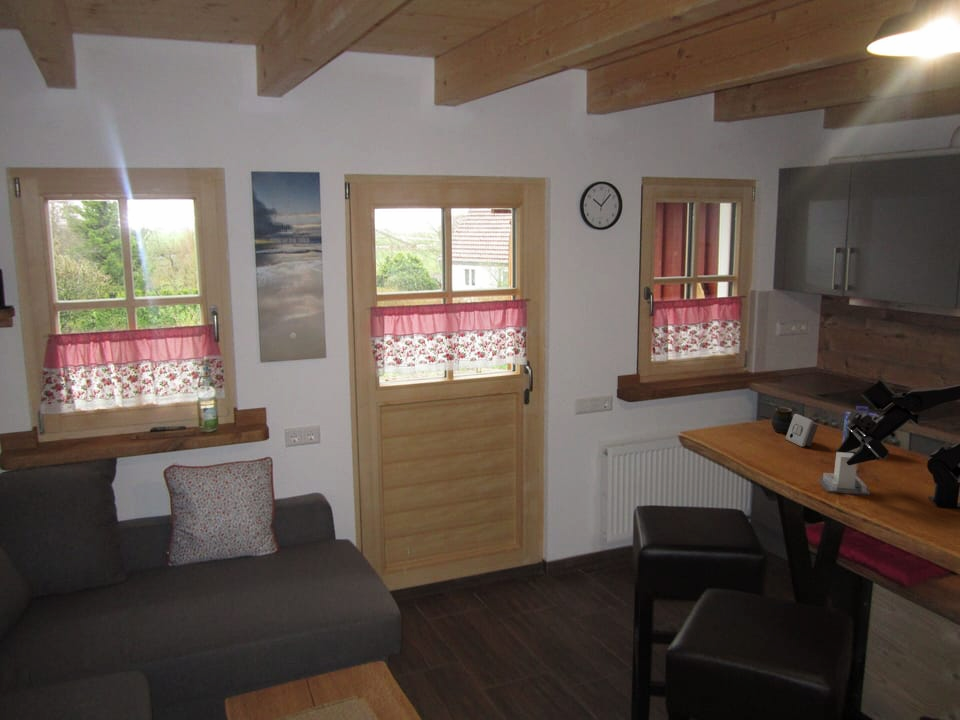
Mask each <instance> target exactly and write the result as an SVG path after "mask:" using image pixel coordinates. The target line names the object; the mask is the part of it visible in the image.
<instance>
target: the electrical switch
mask: <svg viewBox="0 0 960 720" xmlns="http://www.w3.org/2000/svg"><path fill="white" fill-rule="evenodd" d="M792 418H793V419H792V422H791V424H790V427H789V430H788V433H786V436H785V440H787V441H788V442H790V443H793V444H795V445H797V446H799V447H801V448H805V446H806V447H811V446H812V443H813V441H814V438H815V435H816V432H817V430H818V427H819V424H817V423H816V422H814V420H812V419H810V418H808V417H806V416H803V415H800V414H797V413H794V414H793V416H792Z"/></svg>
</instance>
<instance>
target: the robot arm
mask: <svg viewBox="0 0 960 720" xmlns="http://www.w3.org/2000/svg"><path fill="white" fill-rule="evenodd" d="M861 396H862V398H864V399H865V400H866V401H867V402H868V403H869V404H870V405H871V406H872V407H873V408H874V409H875V410H878V411H879V410H881V411H884V410H885V409H886V411H884V412H883V413H881V414H880V415H879V417H877V416H873V417H871V416H870V415H867V414H866V413H865V414H862V413H860V412H858V411H856V410H855V409H852V410H851V413H850V415H849V416H848V418H847V419H848V420H850V423H849V424H848V425H847V426H848V427H849V428H850V429H848V428H847V429H846V430H847V437H846V438H845V440H844V442H843V441H842V442H843V443H842V442H841V444H840V446H839V447H838V449H837V450H836V451H835V453H836V452H843V453H850V452H849V451H851V450H853V449H856V448H858V447H860V449H859V450H858V451H857V452H854V453H853V454H854V455H853V456H852V457H851V458H850V459H849V460H848V461H847V462H846V463H847V464H848V465H854V464H858V463H859V464H861V463H865V462H870V461H871V462H872V461H875V460H876V461H879V460H880V459H881V460H882V461H883V460H885V459H886V458H887V457H889V452H890V451H889V450H888V448H887V447H886V446H885V445H884V444H883V442H885V440H887V439H888V438H890V437H891V438H894V437H895V436H896V432H897V431H899V430H900V429H901V428H903V426H905V425H906V424H907V423H909V422H910V421H911V422H912V423H913V425H915V426H917V425H918V424H919V417H920V414H918V413H921V412H923V411H926V410H929V409H931V408H933V407H936V406H939V405H942V404H945V403H949V402H953V401H954V402H955V401H959V400H960V383H959V384H954V385H949V386H944V387H919V388H917V387H916V388H915V389H912V390H910V391H906V392H898V393H895V391H894V390H893V389H891V387H890V386H888V384H887V383H886V382H885V381H884V379H880V380H878V381H877V382H876V383H874V384H873V385H872V386H871V387H869V388H866V390H865V391H863V392H862V393H861ZM892 404H893V405H892ZM890 405H891V406H890ZM889 406H890V407H889ZM888 407H889V408H888ZM887 408H888V409H887ZM915 413H917V414H915ZM860 440H861V442H860ZM865 443H867V445H866V444H865ZM929 457H930V458H929V459H928V460H927V462H926V465H927V466H926V467H927V470H928V472H929V473H930V474H931V475H932V479H933V482H934V493H933V496H927V499H928V500H929V501H931V502H932V504H934V505H935V506H936V507H938V508H955V509H960V502H959V498H960V442H958V443H956V444H954V445H951V444H950V443H949V442H946V443H945V444H944V445H943V446H941V448H939V449H936V450H934V452H932V453H931V454H930V455H929ZM859 464H858V465H859Z"/></svg>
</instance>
